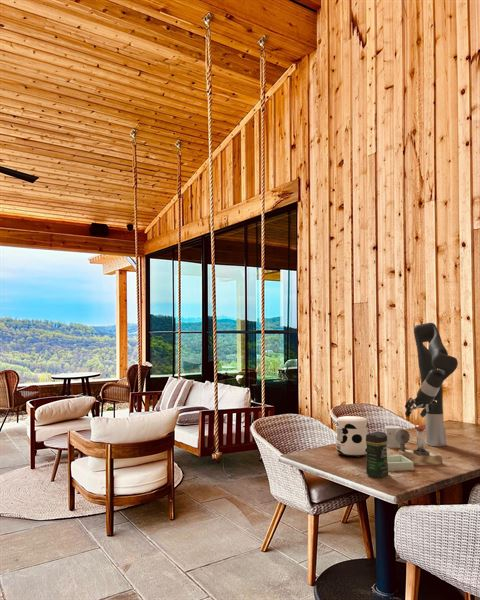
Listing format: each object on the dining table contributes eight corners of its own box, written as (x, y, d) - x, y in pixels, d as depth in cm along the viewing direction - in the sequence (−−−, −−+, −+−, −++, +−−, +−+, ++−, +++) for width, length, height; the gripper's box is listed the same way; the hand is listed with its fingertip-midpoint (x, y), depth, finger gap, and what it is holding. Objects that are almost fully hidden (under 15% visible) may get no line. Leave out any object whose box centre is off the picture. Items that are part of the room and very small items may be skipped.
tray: (401, 462, 219) (401, 455, 219) (413, 469, 207) (413, 462, 207) (377, 463, 218) (377, 456, 218) (388, 470, 206) (387, 463, 206)
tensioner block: (429, 457, 227) (428, 427, 228) (442, 464, 215) (441, 432, 216) (394, 458, 226) (393, 428, 226) (406, 465, 214) (404, 434, 215)
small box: (399, 445, 251) (399, 425, 252) (402, 447, 246) (401, 428, 246) (385, 445, 252) (384, 425, 253) (387, 447, 246) (386, 427, 247)
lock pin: (423, 452, 221) (422, 424, 222) (428, 455, 216) (427, 426, 217) (414, 452, 220) (413, 424, 221) (418, 455, 216) (417, 426, 217)
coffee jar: (379, 479, 194) (378, 435, 195) (363, 475, 200) (362, 432, 201) (391, 474, 201) (390, 431, 202) (375, 470, 207) (374, 429, 208)
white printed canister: (375, 452, 237) (373, 417, 238) (364, 460, 222) (363, 423, 223) (343, 448, 246) (342, 414, 247) (330, 456, 232) (329, 420, 233)
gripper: (436, 385, 216) (422, 410, 224) (411, 384, 212) (397, 410, 220) (446, 396, 210) (430, 422, 218) (420, 395, 206) (405, 421, 213)
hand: (414, 416), depth 219 cm, fingers open, 8 cm apart
